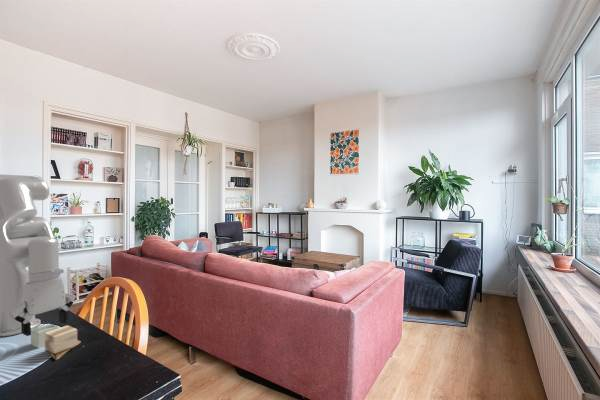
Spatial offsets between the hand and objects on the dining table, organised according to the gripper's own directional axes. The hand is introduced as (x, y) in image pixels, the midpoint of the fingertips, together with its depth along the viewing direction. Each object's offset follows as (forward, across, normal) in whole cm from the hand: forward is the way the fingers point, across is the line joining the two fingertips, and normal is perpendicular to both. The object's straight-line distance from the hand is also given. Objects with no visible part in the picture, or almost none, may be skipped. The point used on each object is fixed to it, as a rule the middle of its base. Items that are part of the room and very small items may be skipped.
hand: (45, 328), depth 96 cm
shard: (+6, -1, +9) cm, 11 cm away
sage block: (+5, 0, -2) cm, 5 cm away
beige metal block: (+4, 0, +9) cm, 10 cm away
